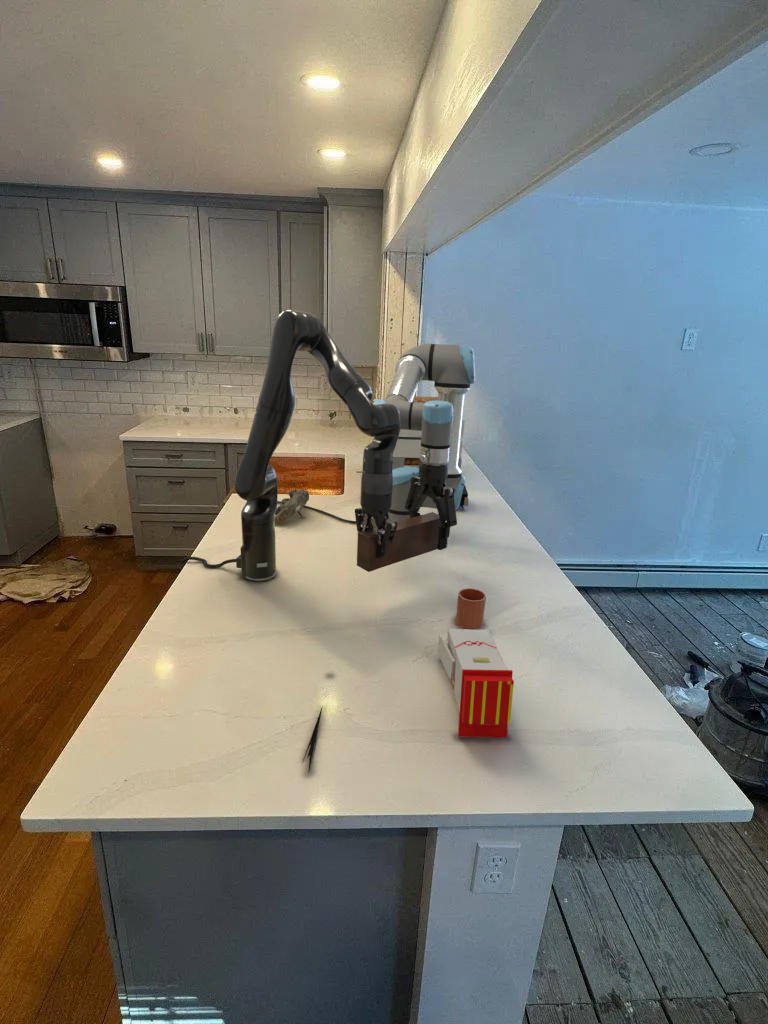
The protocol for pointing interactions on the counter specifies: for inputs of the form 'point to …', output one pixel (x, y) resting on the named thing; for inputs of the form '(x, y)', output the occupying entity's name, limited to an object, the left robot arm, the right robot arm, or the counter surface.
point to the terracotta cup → (470, 608)
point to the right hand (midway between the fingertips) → (428, 542)
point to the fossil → (291, 506)
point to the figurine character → (464, 498)
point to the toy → (478, 682)
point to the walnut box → (400, 542)
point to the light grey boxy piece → (414, 443)
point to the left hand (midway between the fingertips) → (373, 553)
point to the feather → (313, 740)
